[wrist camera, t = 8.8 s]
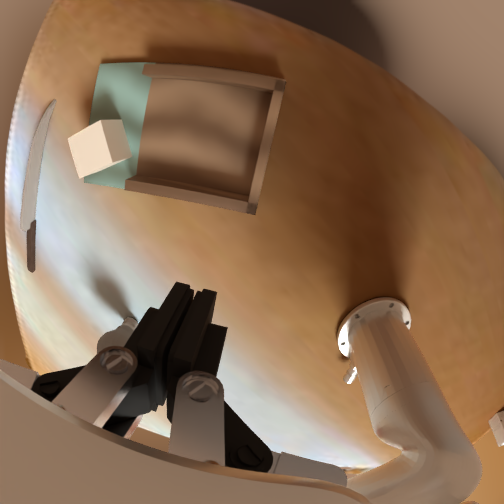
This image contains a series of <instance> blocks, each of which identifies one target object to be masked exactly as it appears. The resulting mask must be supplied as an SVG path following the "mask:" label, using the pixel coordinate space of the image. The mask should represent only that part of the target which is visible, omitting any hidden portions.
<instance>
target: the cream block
mask: <svg viewBox="0 0 504 504" xmlns="http://www.w3.org/2000/svg"><path fill="white" fill-rule="evenodd" d="M68 142H69V145H70V149H71V153H72V156H73V159H74V163H75V166H76V169H77V173H78V176H79V178H82V177H85V176H87V175H90V174H93V173H96V172H98V171H101V170H103V169H106V168H108V167H110V166H112V165H115V164H117V163H119V162H121V161H124V160H126V159H129V158H131V157H133V156H132V153H131V150H130V147H129V143H128V140H127V136H126V133H125V129H124V126H123V122H122V120H99V121H97V122H96V123H94V124H92V125H90V126H88V127H87V128H85V129H83V130H81V131H80V132H78V133H76V134H75V135H73V136H71V137H70V138H68Z"/></svg>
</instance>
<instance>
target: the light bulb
mask: <svg viewBox="0 0 504 504" xmlns="http://www.w3.org/2000/svg"><path fill="white" fill-rule="evenodd" d="M137 325H138V323H137V321H136V320H134V319H132V318H126V319H125V320H124V322H123V324H122V325H121V326H119V327H118V328H117V329H116V330H113V331H110V332H107V333H105V334H104V335H102V337H101V338H100V339H99V341H98V344H97V354H98V353H99V352H100V351H101V350H102V349H104V348H106V347H109V346H122V347H124V345H125V344H126V342H127V341H128V339H129V338H130V336H131V335H132V333H133V331H134V330H135V328H136V327H137Z"/></svg>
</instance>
